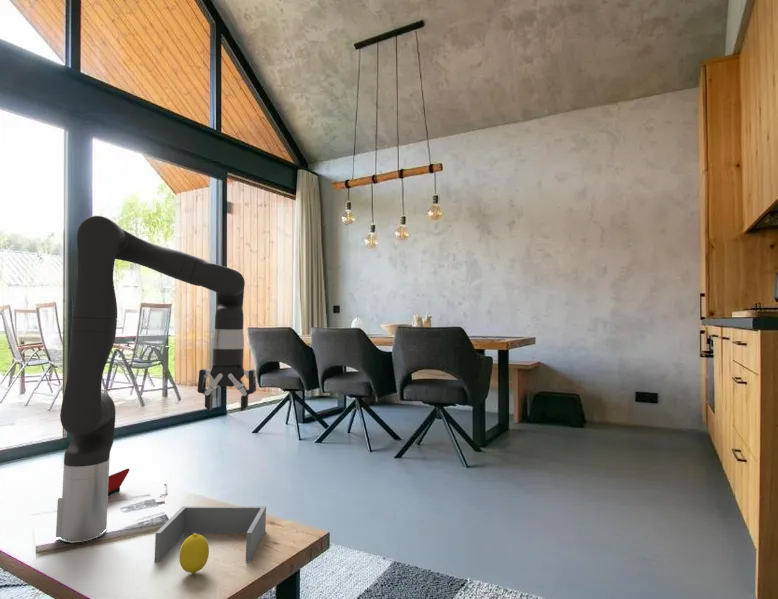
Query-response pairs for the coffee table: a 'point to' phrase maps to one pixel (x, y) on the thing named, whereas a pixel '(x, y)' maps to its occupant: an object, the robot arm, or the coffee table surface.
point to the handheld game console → (116, 481)
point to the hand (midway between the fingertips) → (226, 410)
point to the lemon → (194, 553)
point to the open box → (212, 525)
